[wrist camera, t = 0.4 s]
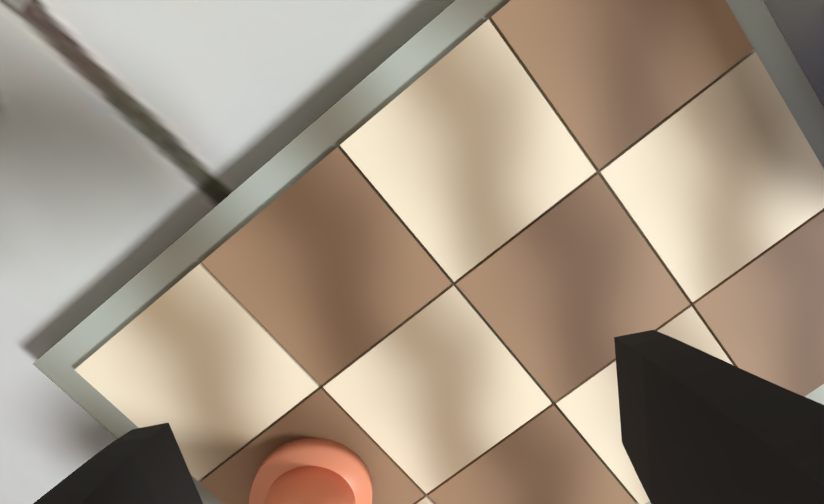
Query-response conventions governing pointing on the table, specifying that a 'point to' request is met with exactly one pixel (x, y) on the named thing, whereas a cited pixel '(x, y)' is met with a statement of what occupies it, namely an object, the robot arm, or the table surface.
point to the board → (486, 257)
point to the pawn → (312, 475)
